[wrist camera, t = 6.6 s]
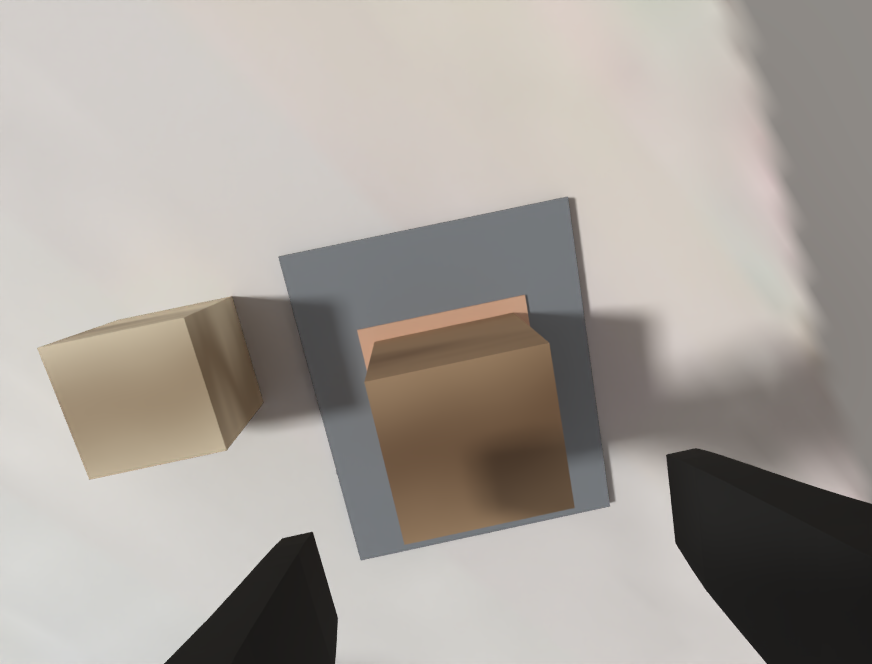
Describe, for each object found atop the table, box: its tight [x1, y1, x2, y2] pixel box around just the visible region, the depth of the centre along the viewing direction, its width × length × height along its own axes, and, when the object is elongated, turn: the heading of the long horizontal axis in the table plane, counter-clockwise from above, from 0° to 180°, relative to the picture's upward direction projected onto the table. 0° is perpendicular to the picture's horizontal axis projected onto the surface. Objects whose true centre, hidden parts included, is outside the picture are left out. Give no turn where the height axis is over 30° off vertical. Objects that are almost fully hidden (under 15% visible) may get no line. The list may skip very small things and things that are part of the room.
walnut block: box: [364, 313, 575, 545], centre depth 16 cm, size 5×5×4 cm
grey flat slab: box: [279, 197, 610, 560], centre depth 18 cm, size 12×10×1 cm
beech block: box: [37, 296, 264, 480], centre depth 16 cm, size 4×4×4 cm
